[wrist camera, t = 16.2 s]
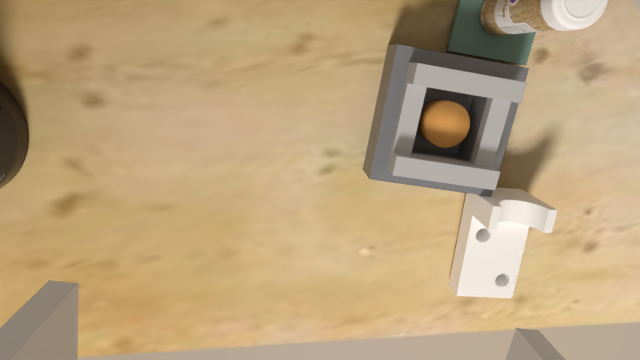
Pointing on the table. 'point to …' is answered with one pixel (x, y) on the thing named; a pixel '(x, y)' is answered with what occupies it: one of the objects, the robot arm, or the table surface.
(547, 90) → the table surface
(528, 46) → the mat
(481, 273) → the bracket
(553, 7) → the sprinkles bottle
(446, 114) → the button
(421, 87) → the grey square holder
